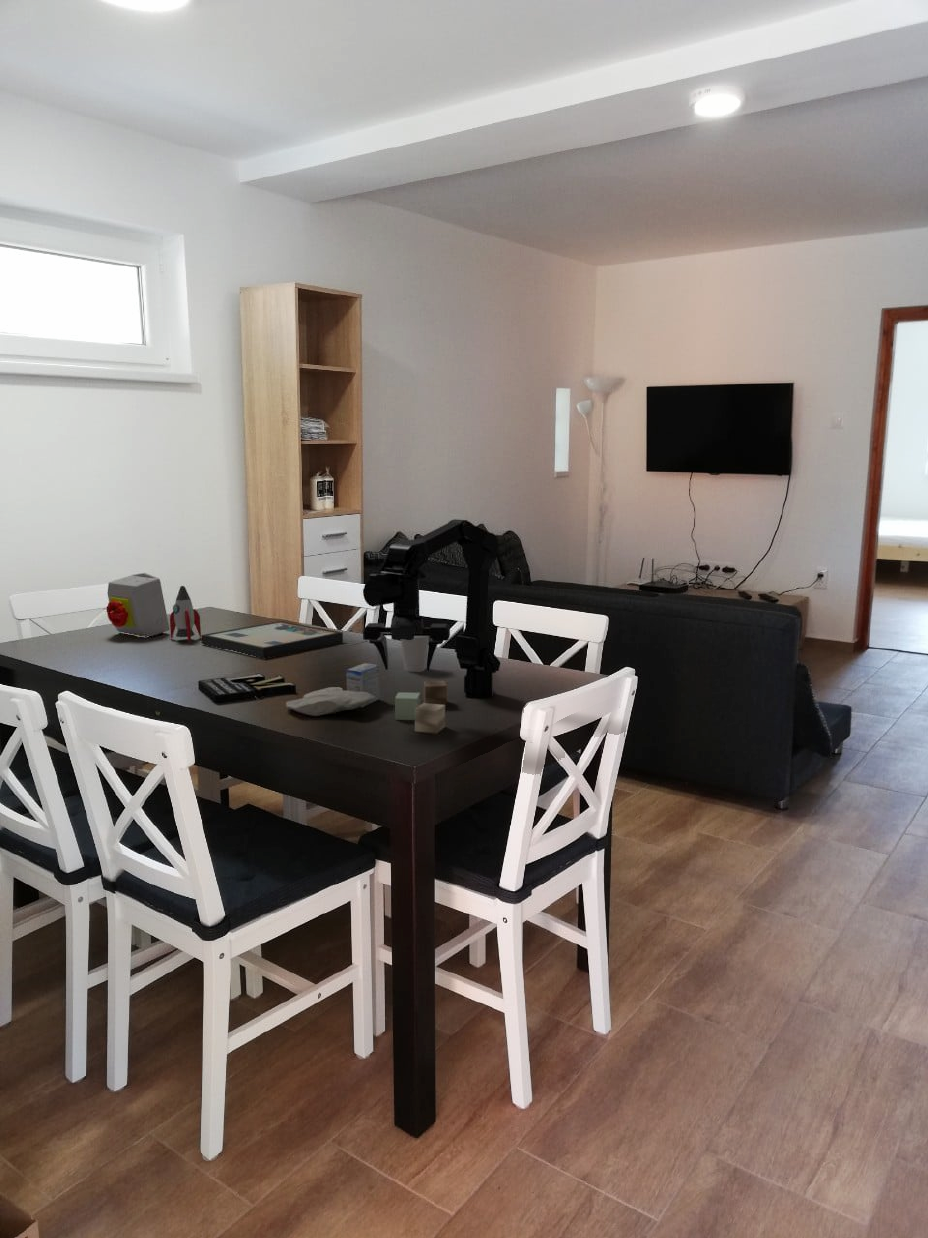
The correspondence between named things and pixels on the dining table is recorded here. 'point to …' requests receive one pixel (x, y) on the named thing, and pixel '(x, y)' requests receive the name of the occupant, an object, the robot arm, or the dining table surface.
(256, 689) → the decorative sign
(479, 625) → the robot arm
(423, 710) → the beech cube
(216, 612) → the dining table surface
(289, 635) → the board game box
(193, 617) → the toy
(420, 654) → the dixie cup
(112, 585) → the electrical switch box
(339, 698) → the rock
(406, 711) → the sage cube
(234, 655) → the dining table surface
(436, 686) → the walnut cube
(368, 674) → the medicine box
